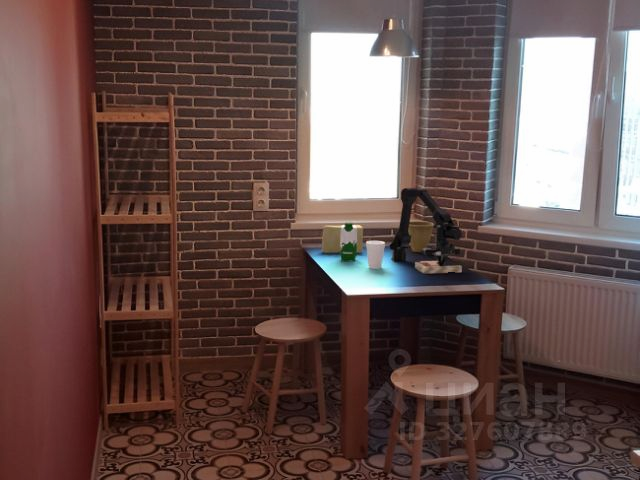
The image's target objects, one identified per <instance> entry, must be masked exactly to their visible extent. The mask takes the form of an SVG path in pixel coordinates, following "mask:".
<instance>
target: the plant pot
mask: <svg viewBox="0 0 640 480" xmlns="http://www.w3.org/2000/svg"><path fill="white" fill-rule="evenodd" d="M433 226H434V223H432V222H429V221H425V220H424V221H422V220H418V221H417V220H416V221H415V220H414V221H410V223H409V229H408V232H409V234H410V235H411V236H412V237H411V242H410V244H409V245H410V247H411V251H412V252H413V253H414V252H415V253H422V249H423V248H429V247H428V246H429V243H430V240H431V237H432V232H433V229H434V228H433Z"/></svg>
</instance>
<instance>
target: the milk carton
mask: <svg viewBox="0 0 640 480" xmlns="http://www.w3.org/2000/svg"><path fill="white" fill-rule="evenodd" d="M353 225H354V224H353V222H345V223H344V224H342V225H341V226H342V227H341V235H340V259H341V260H340V261H343V262H345V261H346V262H355V261H356V257H357V253H356V251H357V227H356V226H353Z"/></svg>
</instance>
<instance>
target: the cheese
mask: <svg viewBox="0 0 640 480" xmlns="http://www.w3.org/2000/svg"><path fill="white" fill-rule="evenodd" d="M353 226H356V227H357V251H356V254H362V253H363V246H364V245H363V242H364V238H363V237H364V227H363V226H361V225H360V224H353ZM341 227H342V225H324V226H323V232H322V239H321V240H322V241H321V253H325V254H326V253H330V254H331V253H333V254H336V253H340V235H341ZM340 254H341V253H340Z"/></svg>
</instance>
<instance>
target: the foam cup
mask: <svg viewBox="0 0 640 480" xmlns="http://www.w3.org/2000/svg"><path fill="white" fill-rule="evenodd" d="M365 247H366V255H367V264H368V268H369V269H372V270H373V269H374V270H376V269H377V270H378V269H381V268H382V264H383V259H384V251H385V247H386V242H385V241H381V240H367V241H366V242H365Z"/></svg>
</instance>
